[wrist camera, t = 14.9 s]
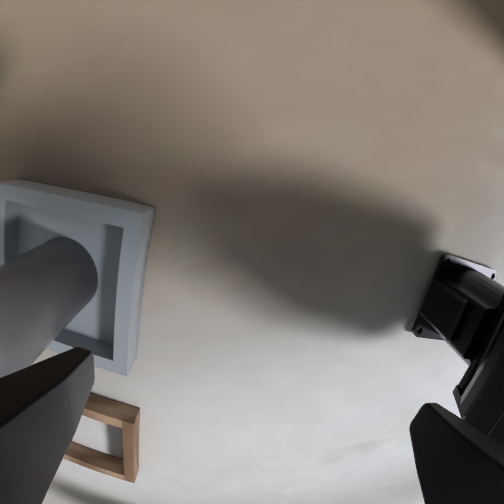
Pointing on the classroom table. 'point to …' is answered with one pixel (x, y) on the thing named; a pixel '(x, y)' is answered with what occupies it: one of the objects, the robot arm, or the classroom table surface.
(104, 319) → the tray
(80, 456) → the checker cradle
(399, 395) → the classroom table surface
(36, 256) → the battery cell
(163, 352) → the classroom table surface
